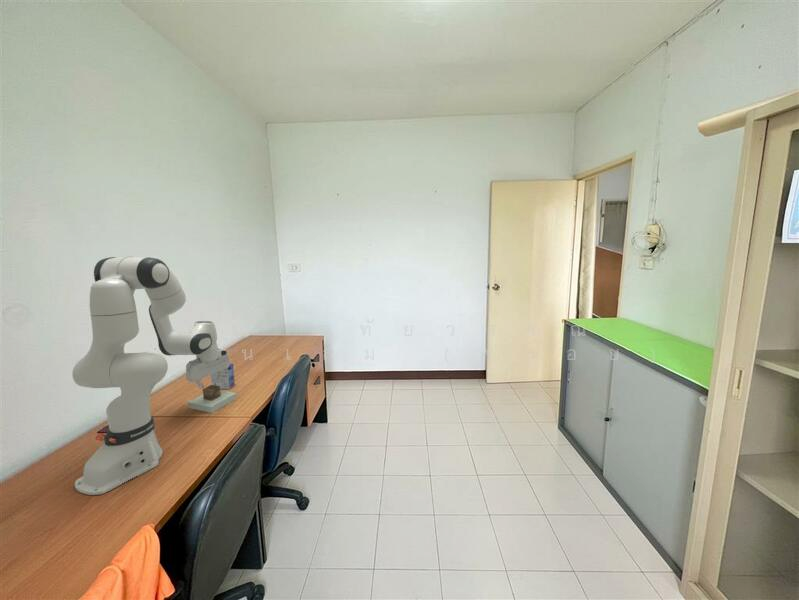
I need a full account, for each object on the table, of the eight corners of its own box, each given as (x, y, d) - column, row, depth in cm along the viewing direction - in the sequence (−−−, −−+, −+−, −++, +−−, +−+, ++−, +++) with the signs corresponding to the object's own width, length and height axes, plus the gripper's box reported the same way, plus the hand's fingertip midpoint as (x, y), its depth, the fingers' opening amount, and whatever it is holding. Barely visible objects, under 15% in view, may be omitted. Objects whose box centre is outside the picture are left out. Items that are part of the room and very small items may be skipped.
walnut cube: (211, 400, 146) (210, 390, 145) (203, 399, 147) (202, 389, 146) (220, 395, 150) (219, 386, 149) (213, 394, 152) (211, 384, 151)
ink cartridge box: (235, 384, 169) (233, 359, 166) (230, 389, 164) (227, 363, 161) (217, 384, 169) (214, 359, 167) (211, 389, 164) (208, 363, 161)
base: (211, 413, 140) (210, 407, 140) (188, 408, 145) (187, 402, 144) (236, 398, 154) (236, 393, 153) (214, 394, 158) (214, 388, 157)
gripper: (191, 363, 134) (194, 393, 136) (230, 349, 153) (233, 376, 155) (180, 361, 136) (184, 391, 138) (221, 348, 155) (223, 374, 157)
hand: (210, 383), depth 147 cm, fingers open, 8 cm apart
